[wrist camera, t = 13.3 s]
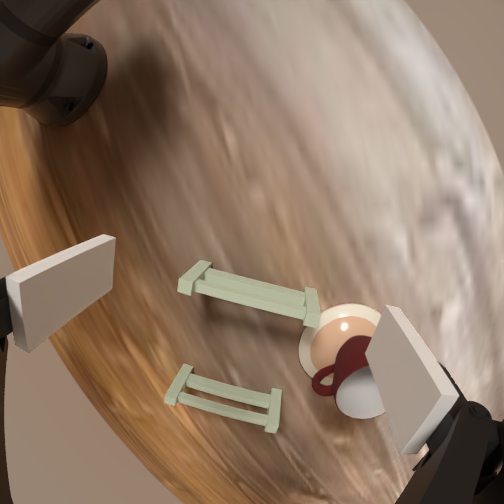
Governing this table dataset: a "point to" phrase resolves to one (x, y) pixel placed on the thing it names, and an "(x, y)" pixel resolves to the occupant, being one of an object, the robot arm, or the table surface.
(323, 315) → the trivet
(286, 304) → the cradle
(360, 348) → the mug
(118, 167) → the table surface
